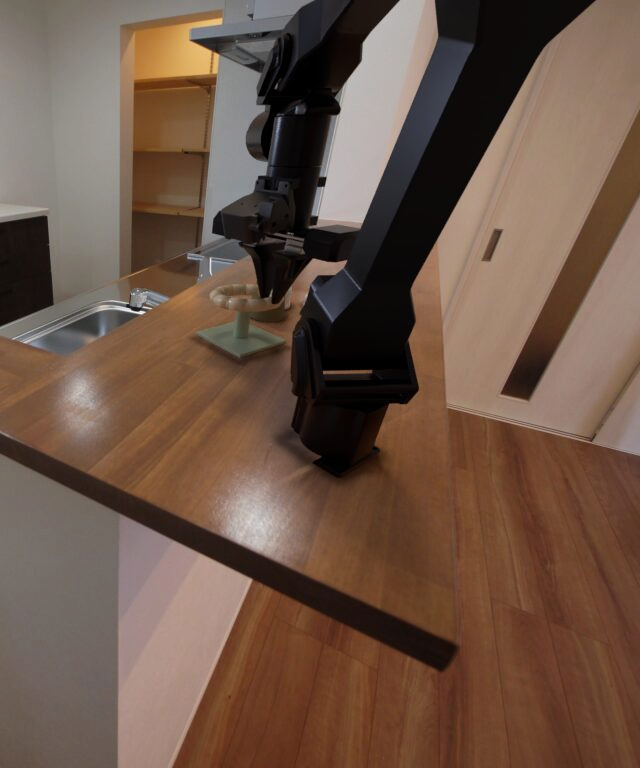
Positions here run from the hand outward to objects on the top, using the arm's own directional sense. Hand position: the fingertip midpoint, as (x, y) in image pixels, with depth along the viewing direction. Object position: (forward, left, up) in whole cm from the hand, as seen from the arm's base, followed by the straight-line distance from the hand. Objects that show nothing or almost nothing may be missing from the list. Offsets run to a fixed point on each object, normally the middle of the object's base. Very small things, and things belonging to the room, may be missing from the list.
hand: (269, 301), depth 55 cm
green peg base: (+4, 0, -8) cm, 9 cm away
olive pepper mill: (+10, -12, -8) cm, 17 cm away
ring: (+4, 0, 0) cm, 4 cm away
